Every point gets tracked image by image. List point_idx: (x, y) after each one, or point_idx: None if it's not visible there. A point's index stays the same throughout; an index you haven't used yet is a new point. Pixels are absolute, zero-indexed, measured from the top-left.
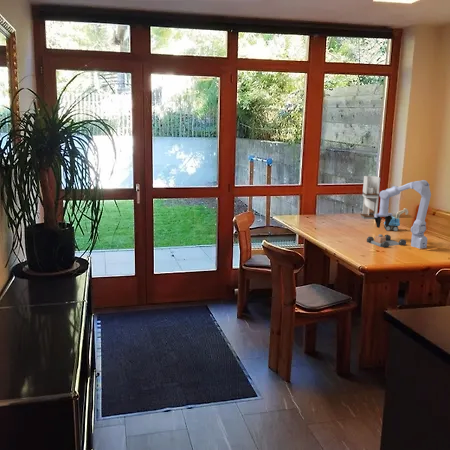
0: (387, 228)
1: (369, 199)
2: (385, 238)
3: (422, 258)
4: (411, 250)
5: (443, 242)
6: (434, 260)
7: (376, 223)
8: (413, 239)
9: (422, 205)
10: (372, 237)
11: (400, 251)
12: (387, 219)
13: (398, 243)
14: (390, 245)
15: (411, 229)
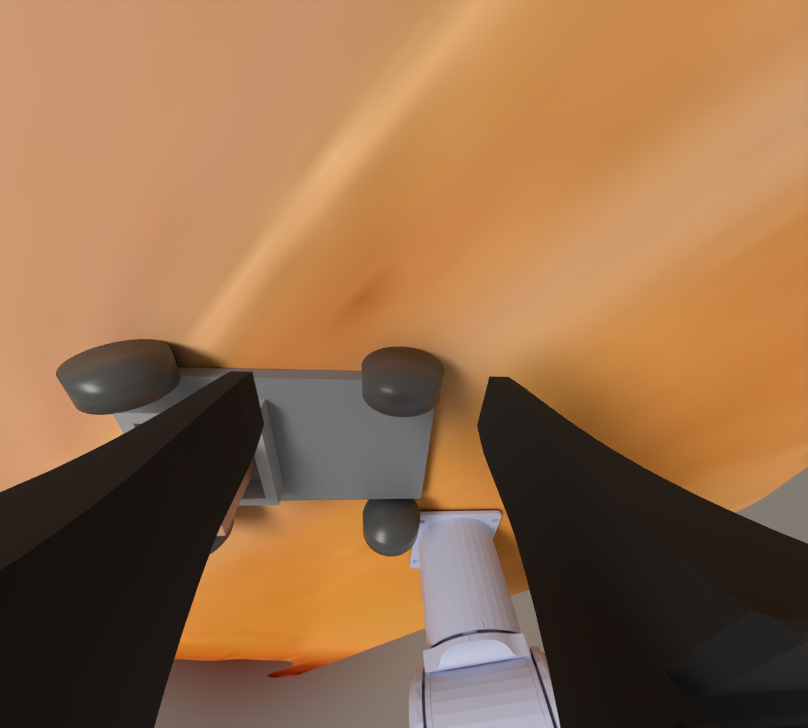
0: None
1: None
2: (227, 521)
3: (302, 625)
4: (364, 557)
5: (735, 506)
6: (331, 641)
7: (157, 431)
8: (424, 603)
9: None
10: (124, 409)
11: (278, 555)
12: (565, 586)
13: (395, 477)
14: (281, 496)
15: (409, 723)
